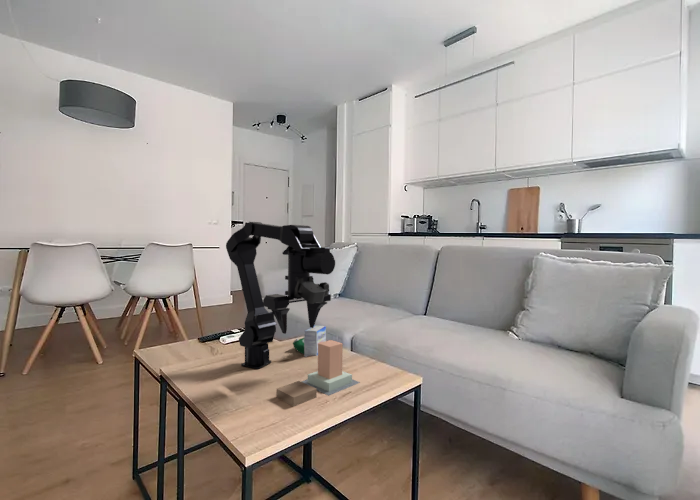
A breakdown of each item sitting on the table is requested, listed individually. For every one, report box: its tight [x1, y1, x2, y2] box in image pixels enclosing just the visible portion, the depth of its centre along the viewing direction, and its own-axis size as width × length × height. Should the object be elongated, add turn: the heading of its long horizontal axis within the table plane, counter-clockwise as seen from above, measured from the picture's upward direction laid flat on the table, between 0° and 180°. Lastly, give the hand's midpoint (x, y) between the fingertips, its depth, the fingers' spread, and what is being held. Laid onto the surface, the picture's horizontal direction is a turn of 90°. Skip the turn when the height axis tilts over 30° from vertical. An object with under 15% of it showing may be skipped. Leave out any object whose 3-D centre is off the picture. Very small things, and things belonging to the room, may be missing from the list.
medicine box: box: [303, 324, 327, 358], centre depth 116 cm, size 8×4×9 cm, turn 162°
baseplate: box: [301, 378, 361, 397], centre depth 91 cm, size 11×11×1 cm
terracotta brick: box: [317, 339, 344, 379], centre depth 91 cm, size 4×4×8 cm
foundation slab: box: [307, 370, 353, 392], centre depth 91 cm, size 8×8×2 cm
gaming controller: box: [292, 337, 304, 355], centre depth 122 cm, size 9×4×6 cm
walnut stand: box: [275, 380, 318, 407], centre depth 82 cm, size 6×6×3 cm
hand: (298, 330), depth 96 cm, fingers open, 9 cm apart
